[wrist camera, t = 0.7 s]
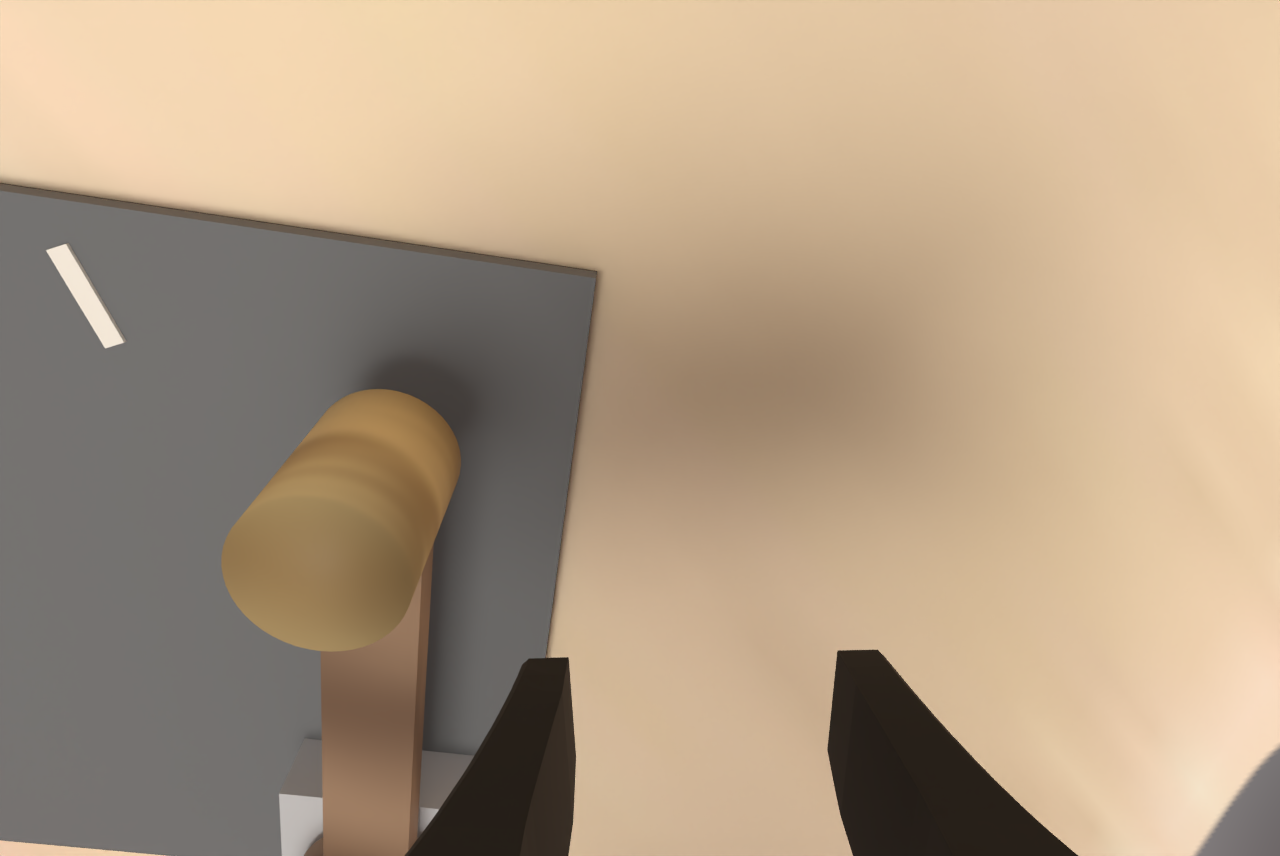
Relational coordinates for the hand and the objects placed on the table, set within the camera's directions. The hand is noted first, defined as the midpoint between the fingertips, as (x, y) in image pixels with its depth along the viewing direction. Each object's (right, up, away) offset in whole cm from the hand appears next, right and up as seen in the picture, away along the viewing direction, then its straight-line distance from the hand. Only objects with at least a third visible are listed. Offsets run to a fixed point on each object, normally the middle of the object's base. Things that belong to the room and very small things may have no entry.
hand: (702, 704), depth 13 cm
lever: (-8, -3, +9) cm, 12 cm away
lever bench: (-13, 0, +10) cm, 17 cm away
